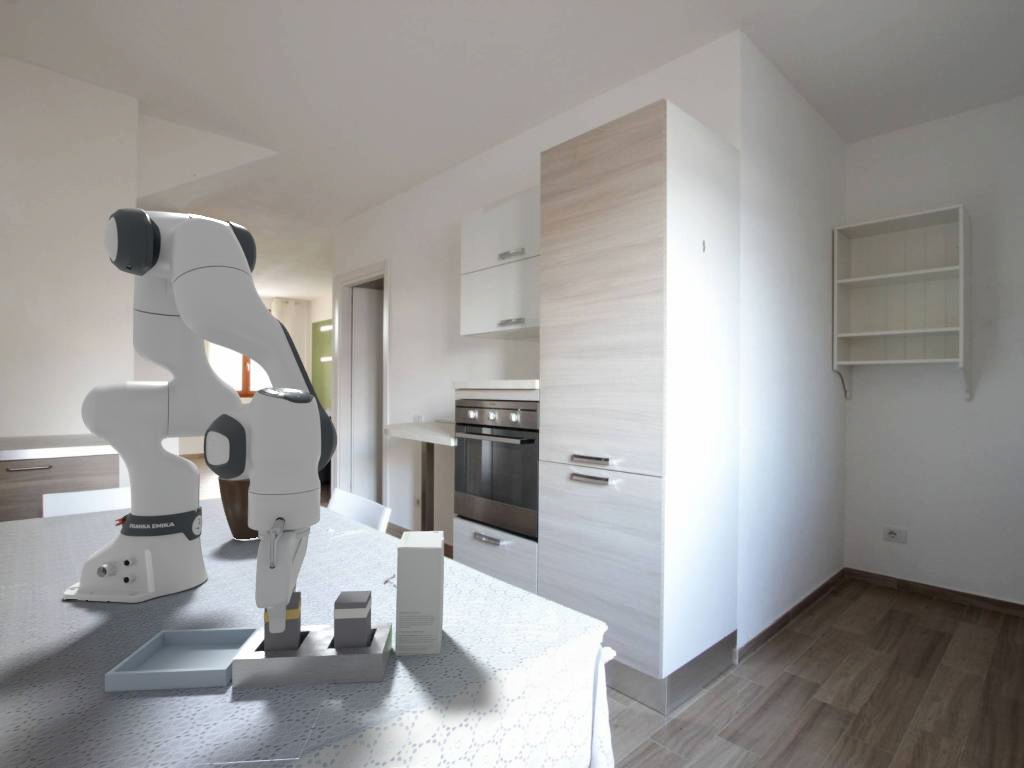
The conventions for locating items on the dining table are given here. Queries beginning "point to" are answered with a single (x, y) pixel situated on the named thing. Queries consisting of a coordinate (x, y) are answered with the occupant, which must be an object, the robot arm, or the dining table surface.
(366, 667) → the double slot holder
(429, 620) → the skincare box
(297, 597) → the plug
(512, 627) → the dining table surface
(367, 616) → the twin plug
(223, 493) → the plant pot
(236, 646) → the tray
